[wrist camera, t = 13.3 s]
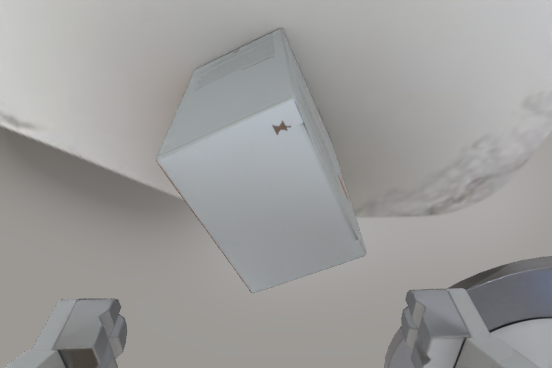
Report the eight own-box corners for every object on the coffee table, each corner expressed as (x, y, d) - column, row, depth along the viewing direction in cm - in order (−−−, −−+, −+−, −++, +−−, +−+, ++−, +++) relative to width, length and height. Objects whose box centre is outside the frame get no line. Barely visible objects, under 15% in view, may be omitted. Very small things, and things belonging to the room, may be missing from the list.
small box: (193, 67, 23) (147, 156, 14) (283, 24, 22) (294, 92, 13) (255, 176, 27) (249, 299, 18) (334, 144, 26) (369, 259, 17)
